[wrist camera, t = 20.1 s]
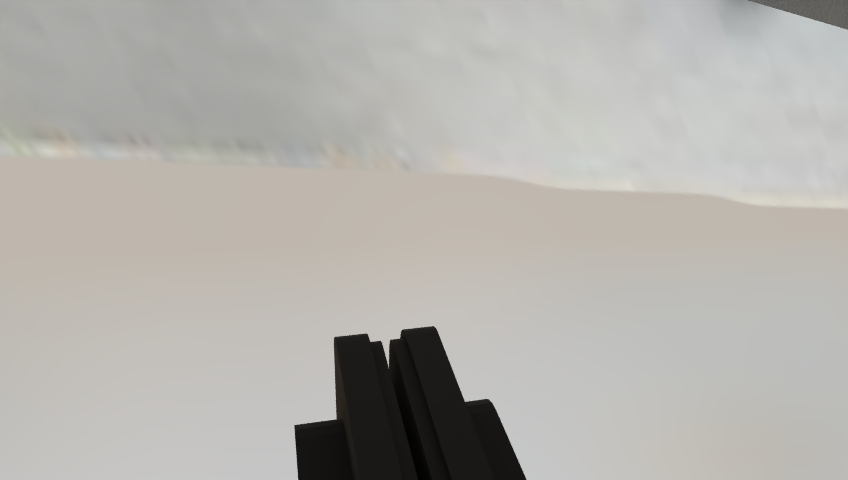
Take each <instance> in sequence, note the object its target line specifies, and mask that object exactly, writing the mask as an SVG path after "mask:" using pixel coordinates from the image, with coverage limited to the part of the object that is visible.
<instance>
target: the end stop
mask: <svg viewBox="0 0 848 480" xmlns="http://www.w3.org/2000/svg"><path fill="white" fill-rule="evenodd" d="M749 1H753V2H756V3H759V4H763V5H766V6H770V7H773V8H776V9H780V10H783V11H786V12H790V13H793V14H797V15H800V16H803V17H807V18H810V19H814V20H817V21H820V22H824V23H827V24H831V25H834V26H837V27H841V28H844V29H848V0H749Z"/></svg>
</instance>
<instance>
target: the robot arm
mask: <svg viewBox="0 0 848 480" xmlns="http://www.w3.org/2000/svg"><path fill="white" fill-rule="evenodd" d="M334 356H335V357H334V358H335V384H336V413H337V420H330V421H322V422H314V423H307V424H300V425H295V439H296V452H297V453H296V454H297V468H298V480H526V478H525V475H524V473H523V471H522V469H521V466H520V464H519V462H518V459H517V457H516V455H515V453H514V450H513V448H512V446H511V443H510V441H509V439H508V436H507V434H506V432H505V430H504V427H503V425H502V423H501V421H500V418H499V416H498V414H497V411H496V409H495V407H494V406H493V404H492V402H490V400H489V399H483V400H477V401H469V402H465V401H464V399H463V396H462V393H461V391H460V388H459V386H458V383H457V381H456V378H455V375H454V373H453V370H452V368H451V365H450V362H449V360H448V357H447V355H446V352H445V350H444V347H443V345H442V342H441V339H440V337H439V334H438V331H437V329H436V328H435V327H434V326H432V327H424V328H414V329H404V330H402V331H401V337H400V339H394V340H390V346H389V368H388V364H387V360H386V356H385V352H384V349H383V345H382V342H381V341H376V342H370V340H369V337H368V334H359V335H349V336H340V337H335V338H334Z"/></svg>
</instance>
